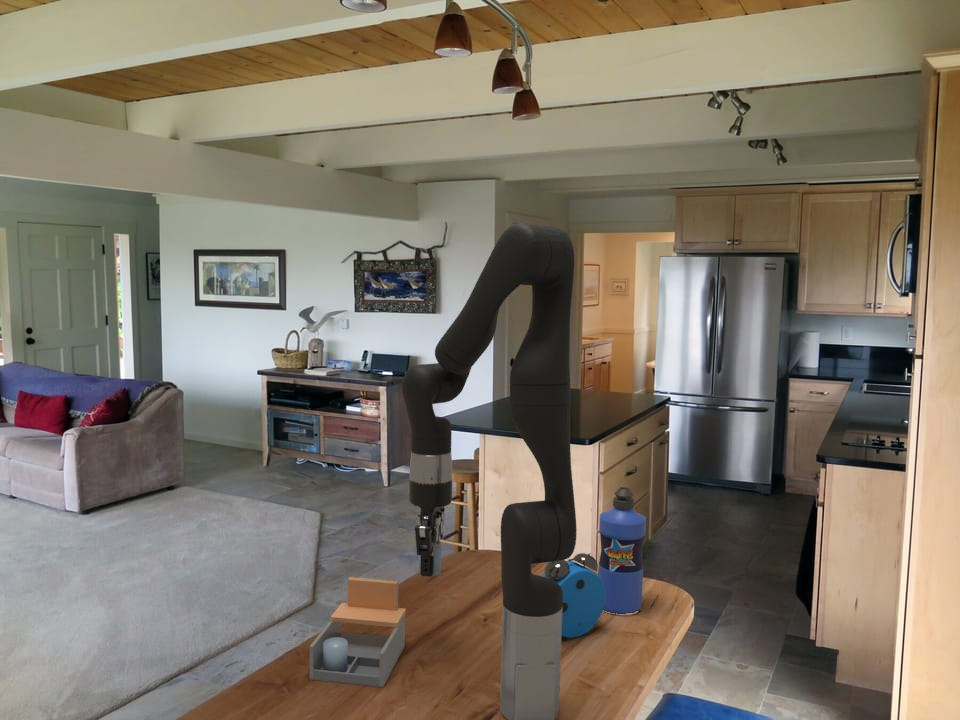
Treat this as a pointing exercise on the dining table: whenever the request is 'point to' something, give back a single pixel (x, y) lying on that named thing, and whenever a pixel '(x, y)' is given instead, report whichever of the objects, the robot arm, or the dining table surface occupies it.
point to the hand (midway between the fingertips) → (429, 570)
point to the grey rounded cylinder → (335, 654)
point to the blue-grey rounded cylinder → (436, 559)
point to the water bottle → (622, 554)
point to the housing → (359, 656)
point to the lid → (370, 603)
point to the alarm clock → (578, 593)
